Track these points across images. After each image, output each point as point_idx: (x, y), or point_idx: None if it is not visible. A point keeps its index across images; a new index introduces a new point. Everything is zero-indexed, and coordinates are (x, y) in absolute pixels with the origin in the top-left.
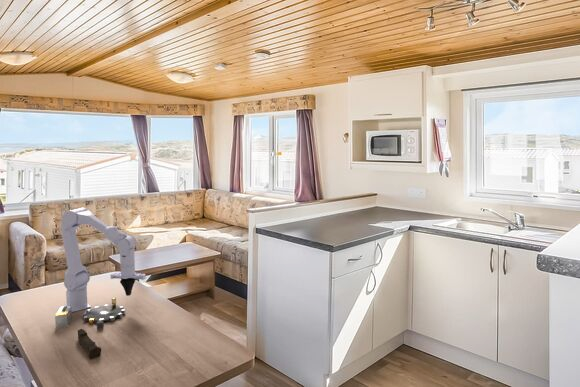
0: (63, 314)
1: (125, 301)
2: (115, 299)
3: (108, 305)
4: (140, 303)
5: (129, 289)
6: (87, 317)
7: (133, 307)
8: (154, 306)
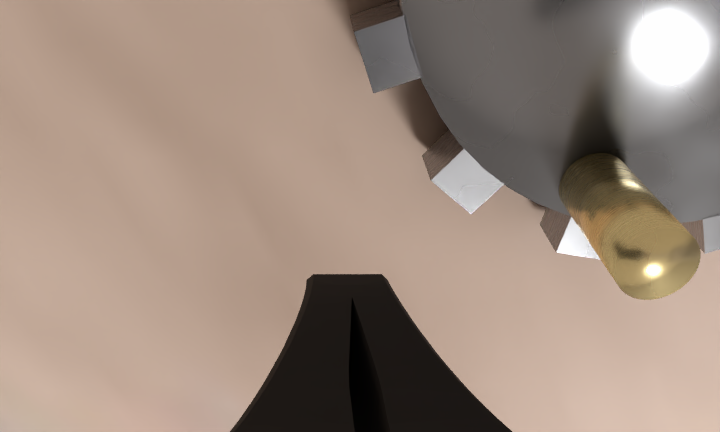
0: None
1: None
2: (614, 244)
3: (694, 219)
4: None
5: (276, 370)
6: None
7: None
8: (31, 324)
